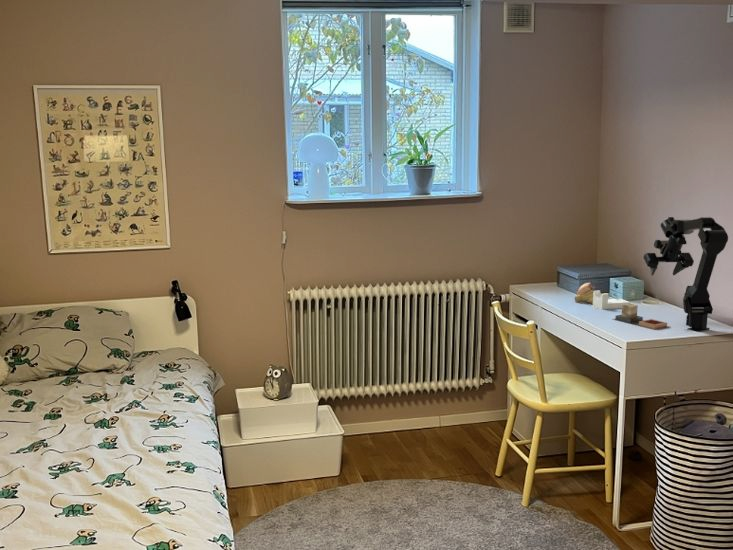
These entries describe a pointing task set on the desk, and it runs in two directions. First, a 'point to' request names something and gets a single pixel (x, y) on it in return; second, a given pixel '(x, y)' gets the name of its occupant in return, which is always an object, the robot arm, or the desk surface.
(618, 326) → the desk surface
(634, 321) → the base plate
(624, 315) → the wooden block
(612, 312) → the desk surface
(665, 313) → the desk surface
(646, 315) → the desk surface
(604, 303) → the bracket
